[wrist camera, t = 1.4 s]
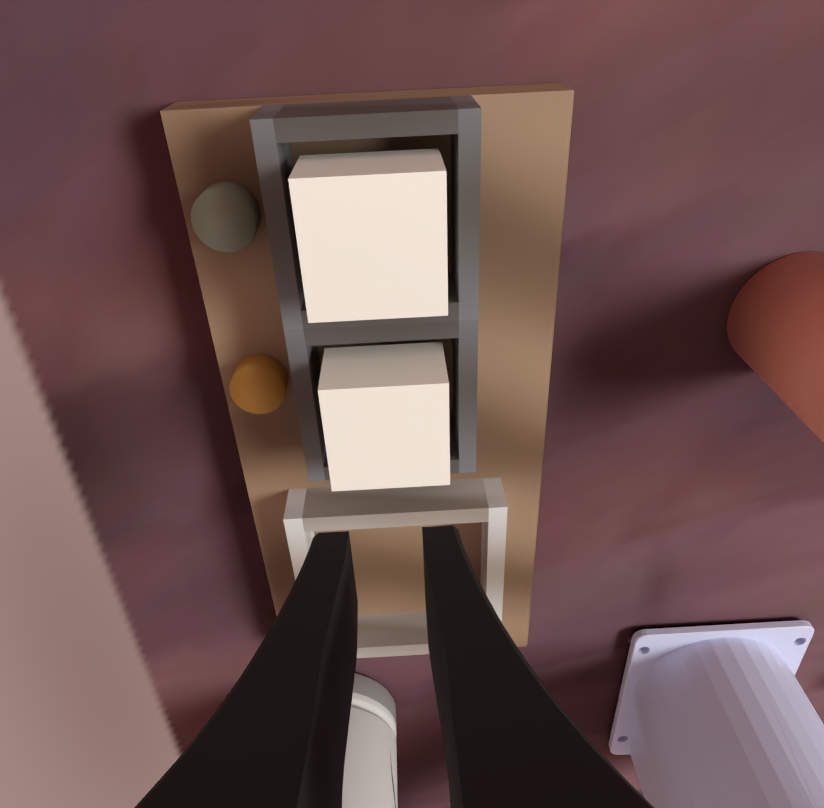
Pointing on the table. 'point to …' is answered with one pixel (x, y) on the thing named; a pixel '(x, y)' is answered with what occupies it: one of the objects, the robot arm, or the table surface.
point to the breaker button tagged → (386, 416)
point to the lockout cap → (785, 332)
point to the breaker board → (386, 330)
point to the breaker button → (372, 234)
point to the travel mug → (370, 748)
